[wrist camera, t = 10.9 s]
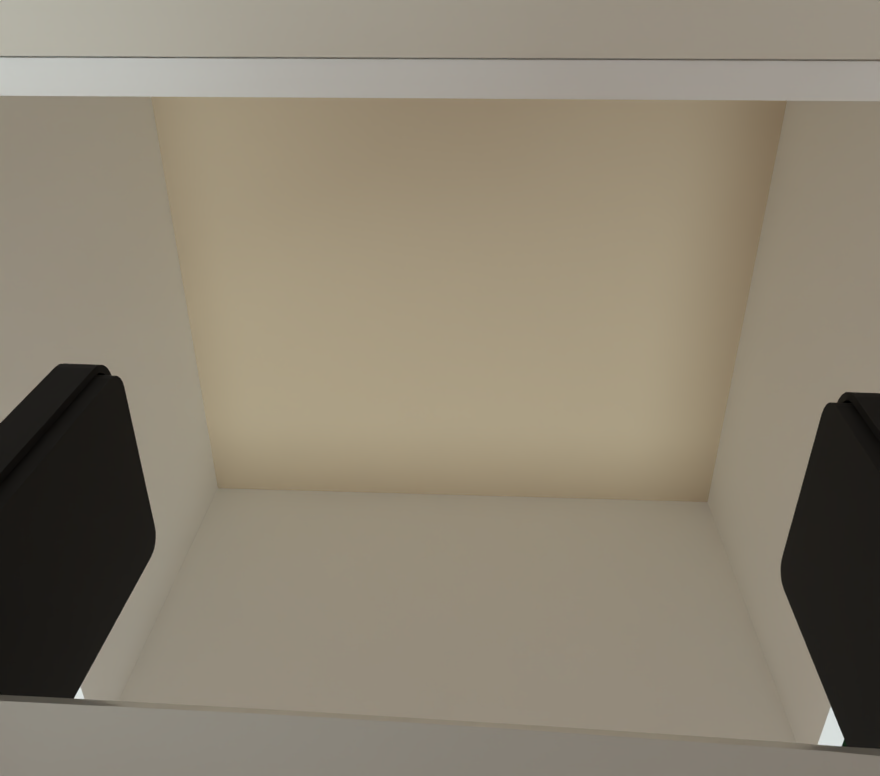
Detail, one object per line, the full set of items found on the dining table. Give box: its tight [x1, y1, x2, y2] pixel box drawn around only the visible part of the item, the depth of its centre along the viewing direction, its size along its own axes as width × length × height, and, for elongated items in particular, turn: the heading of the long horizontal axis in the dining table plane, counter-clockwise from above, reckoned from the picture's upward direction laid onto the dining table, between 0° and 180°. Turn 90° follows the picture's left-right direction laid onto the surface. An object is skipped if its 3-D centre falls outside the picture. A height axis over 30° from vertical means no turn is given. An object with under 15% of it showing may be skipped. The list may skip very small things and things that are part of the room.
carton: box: [0, 56, 880, 746], centre depth 23 cm, size 20×18×12 cm
